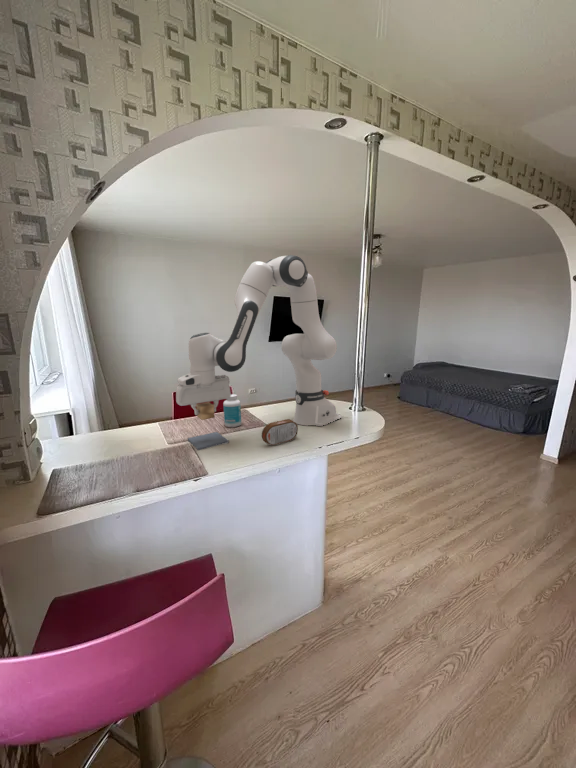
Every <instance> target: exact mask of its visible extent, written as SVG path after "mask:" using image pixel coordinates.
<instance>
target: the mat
mask: <svg viewBox="0 0 576 768" xmlns="http://www.w3.org/2000/svg"><path fill="white" fill-rule="evenodd" d="M187 441H188V442H189V443H190V444H191V445H192V444H193V445H192V446H193V447H194V448H195V449H197V451H200V450H204V449H207V448H212V447H216V446H219V445H224V444H228V443H230V441H229V440H228V439H227V438H226V437H225V436H223V435H222V434H221V433H219V432H218V431H215V432H211V433H210V432H209V433H206V434H205V433H204V434H201V435H196V436H192V437H188V438H187Z"/></svg>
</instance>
